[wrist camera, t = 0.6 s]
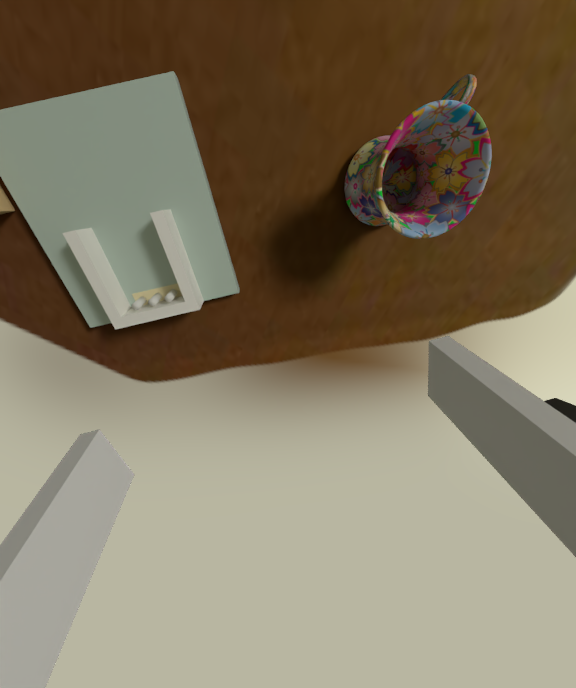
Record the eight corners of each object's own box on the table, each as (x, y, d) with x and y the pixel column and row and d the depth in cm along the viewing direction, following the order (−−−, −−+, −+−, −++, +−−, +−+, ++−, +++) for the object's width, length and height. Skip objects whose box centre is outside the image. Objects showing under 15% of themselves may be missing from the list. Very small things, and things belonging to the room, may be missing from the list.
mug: (391, 241, 34) (444, 255, 25) (324, 209, 32) (356, 211, 22) (449, 130, 30) (542, 96, 20) (377, 82, 27) (445, 18, 18)
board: (-20, 122, 25) (-71, 106, 21) (177, 78, 25) (164, 54, 21) (96, 323, 34) (76, 338, 30) (239, 289, 34) (238, 300, 30)
